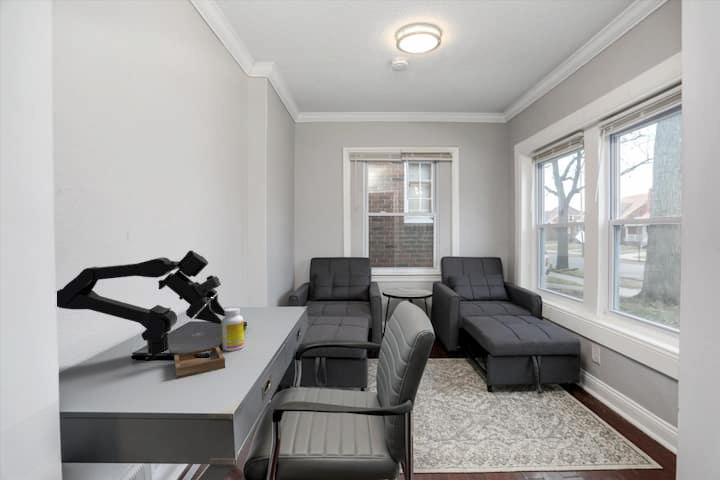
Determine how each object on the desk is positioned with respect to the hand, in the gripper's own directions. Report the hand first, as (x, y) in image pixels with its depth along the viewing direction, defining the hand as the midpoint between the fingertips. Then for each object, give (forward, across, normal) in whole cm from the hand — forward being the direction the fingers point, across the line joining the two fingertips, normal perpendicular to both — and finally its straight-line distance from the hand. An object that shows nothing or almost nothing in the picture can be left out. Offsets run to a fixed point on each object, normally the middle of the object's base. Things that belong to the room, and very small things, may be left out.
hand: (223, 318), depth 107 cm
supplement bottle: (+9, 0, +5) cm, 10 cm away
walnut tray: (+4, -12, +10) cm, 16 cm away
